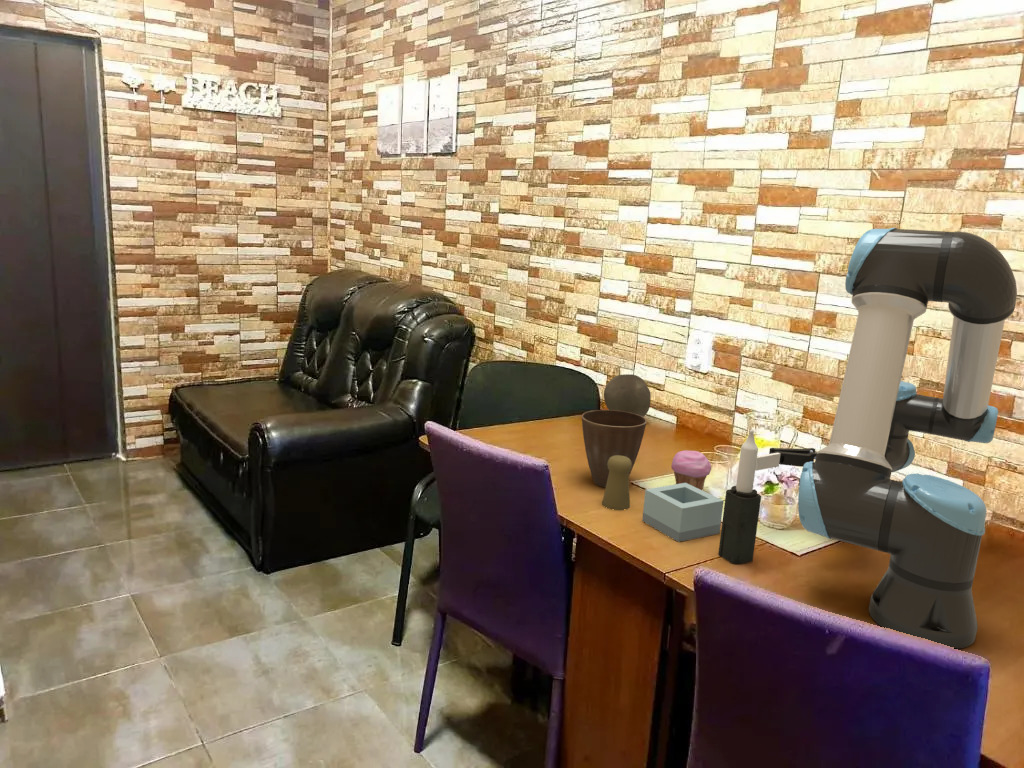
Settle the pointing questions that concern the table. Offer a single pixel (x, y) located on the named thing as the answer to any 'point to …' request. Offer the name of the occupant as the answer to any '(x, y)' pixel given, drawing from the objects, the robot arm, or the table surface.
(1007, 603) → the table surface
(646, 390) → the dark grey round ball
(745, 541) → the candle
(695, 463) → the cupcake
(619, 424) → the plant pot
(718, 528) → the holder
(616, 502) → the olive pawn
